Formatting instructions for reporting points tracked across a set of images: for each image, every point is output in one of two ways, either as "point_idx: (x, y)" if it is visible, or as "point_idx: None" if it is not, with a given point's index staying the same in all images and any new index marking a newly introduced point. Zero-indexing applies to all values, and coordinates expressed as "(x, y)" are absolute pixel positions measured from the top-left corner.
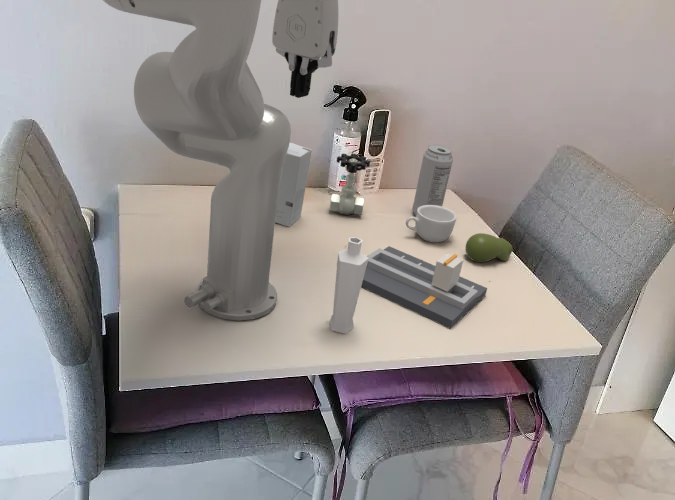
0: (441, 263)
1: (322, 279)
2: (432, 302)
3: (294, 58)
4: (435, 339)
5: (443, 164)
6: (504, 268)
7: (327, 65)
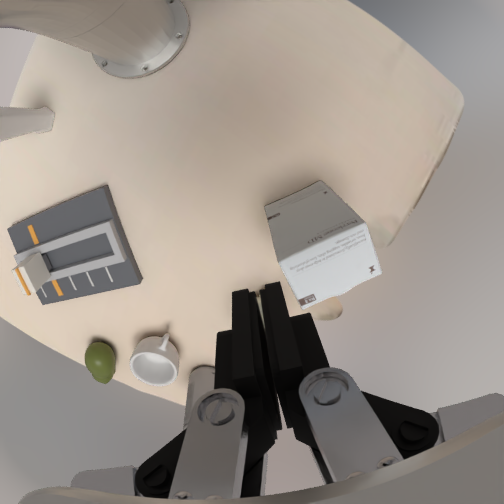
0: (19, 267)
1: (121, 156)
2: (30, 235)
3: (326, 455)
4: (5, 199)
5: (183, 430)
6: (84, 353)
7: (74, 480)
